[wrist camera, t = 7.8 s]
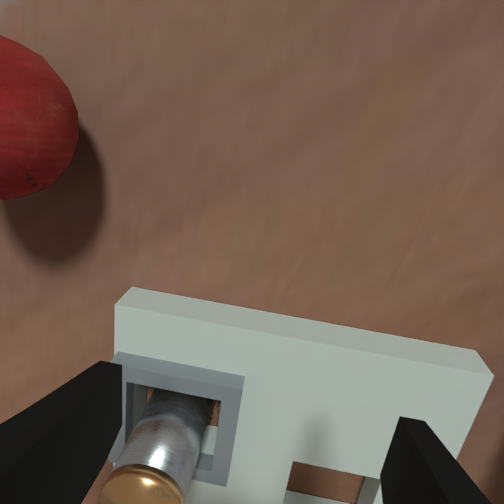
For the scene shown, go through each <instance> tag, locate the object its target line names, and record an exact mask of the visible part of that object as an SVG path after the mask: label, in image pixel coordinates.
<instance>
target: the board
mask: <svg viewBox="0 0 504 504" xmlns="http://www.w3.org/2000/svg"><path fill="white" fill-rule="evenodd" d="M110 363H116V364H121V365H122V427H121V429H120V431H119V433H118V436H117V438H116V440H115V442H114V445H113V447H112V449H111V451H110V453H109V462H113V467H114V466H115V464H116V462H117V460H118V458H119V456H120V454H121V452H122V450H123V448H124V447H125V445H126V443H127V441H128V439H129V437H130V435H131V433H132V431H133V429H134V428H135V426H136V424H137V422H138V420H139V418H140V416H141V414H142V412H143V410H144V409H145V407H146V398H147V386H150V387H155V388H160V389H165V390H170V391H175V392H180V393H185V394H190V395H194V396H199V397H204V398H209V399H214V400H219V401H221V408H220V415H219V422H218V427H216V426H212V425H208V427H207V430H206V433H205V437H204V440H203V443H202V447H201V450H200V453H199V457H198V460H197V464H196V467H195V470H194V474H193V477H192V480H191V484H190V487H189V491H188V494H187V497H186V501H185V504H349V503H344V502H340V501H335V500H331V499H326V498H321V497H317V496H312V495H307V494H303V493H298V492H293V491H289V490H286V487H287V483H288V479H289V475H290V471H291V467H292V462H293V461H296V462H300V463H305V464H310V465H315V466H319V467H324V468H329V469H334V470H339V471H343V472H348V473H353V474H358V475H362V476H366V477H365V480H364V482H363V485H362V488H361V491H360V494H359V497H358V500H357V503H356V504H383V501H382V491H381V482H380V473H381V470H382V467H383V464H384V461H385V458H386V455H387V452H388V449H389V446H390V443H391V440H392V437H393V435H394V432H395V429H396V426H397V423H398V420H399V417H400V416H402V417H407V418H413V419H418V420H423V421H425V422H426V423H427V424H428V425H429V427H430V428H431V429H432V430H433V432H434V433H435V434H436V435H437V437H438V438H439V439H440V440H441V442H442V443H443V444H444V445H445V447H446V448H447V449H448V451H449V452H450V453H451V454H452V456H453V457H454V458H455V459H456V458H457V456H458V454H459V452H460V449H461V447H462V445H463V443H464V441H465V439H466V436H467V434H468V432H469V430H470V428H471V425H472V423H473V421H474V419H475V417H476V414H477V412H478V410H479V408H480V406H481V404H482V401H483V399H484V397H485V395H486V393H487V390H488V388H489V386H490V384H491V382H492V380H493V377H494V375H493V374H492V373H491V371H490V370H489V368H488V367H487V366H486V364H485V363H484V362H483V360H482V359H481V357H480V356H479V355H478V353H477V352H476V351H475V350H471V349H465V348H460V347H455V346H449V345H444V344H438V343H433V342H428V341H422V340H417V339H411V338H406V337H401V336H395V335H390V334H384V333H379V332H374V331H368V330H363V329H357V328H352V327H347V326H341V325H336V324H330V323H325V322H320V321H314V320H309V319H303V318H298V317H293V316H287V315H282V314H276V313H271V312H266V311H260V310H255V309H249V308H244V307H239V306H233V305H228V304H222V303H217V302H212V301H206V300H201V299H195V298H190V297H185V296H179V295H174V294H168V293H163V292H158V291H152V290H147V289H141V288H136V287H131V288H130V289H129V290H128V291H127V292H126V293H125V294H124V295H123V296H122V298H121V299H120V300H119V301H118V302H117V303H116V304H115V338H114V357H113V359H112V360H111V361H110Z"/></svg>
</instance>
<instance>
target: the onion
mask: <svg viewBox="0 0 504 504" xmlns="http://www.w3.org/2000/svg"><path fill="white" fill-rule="evenodd" d="M78 140H79V129H78V111H77V109H76V106H75V104H74V101H73V99H72V96H71V94H70V91H69V89H68V87H67V86H66V84H65V83H64V82H63V80H62V79H61V78H60V77H59V76H58V74H57V73H56V72H55V71H54V70H53V68H52V67H51V66H50V65H49V64H48V62H47V61H46V60H45V59H44V58H43V57H42V56H40V55H39V54H37V53H35V52H33V51H32V50H30V49H28V48H26V47H25V46H23V45H21V44H19V43H18V42H16V41H13V40H11V39H8V38H6V37H3V36H1V35H0V199H2V200H6V199H13V198H19V197H22V196H25V195H28V194H31V193H34V192H37V191H40V190H43V189H46V188H47V187H49V186H50V185H52V184H53V183H55V182H56V181H57V179H58V178H59V177H60V176H61V175H62V173H63V172H64V171H65V170H66V169H67V167H68V166H69V165H70V164H71V162H72V159H73V156H74V152H75V149H76V146H77V143H78Z"/></svg>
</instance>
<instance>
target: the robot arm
mask: <svg viewBox="0 0 504 504" xmlns="http://www.w3.org/2000/svg"><path fill="white" fill-rule="evenodd" d="M121 427H122V365H121V364H116V363H110V362H105V361H99V362H97V363H96V364H94V365H93V366H91V367H89V368H88V369H86V370H85V371H83V372H82V373H80V374H79V375H77V376H76V377H74V378H73V379H71V380H70V381H68V382H67V383H65V384H64V385H62V386H61V387H59V388H58V389H56V390H55V391H53V392H52V393H50V394H48V395H47V396H45V397H44V398H42V399H41V400H39V401H38V402H36V403H34V404H33V405H31V406H30V407H28V408H27V409H25V410H23V411H22V412H20V413H18V414H17V415H15V416H13V417H12V418H10V419H8V420H7V421H5V422H3V423H2V424H0V504H81V503H82V501H83V500H84V498H85V496H86V495H87V493H88V491H89V489H90V488H91V486H92V484H93V483H94V481H95V479H96V478H97V476H98V474H99V472H100V471H101V469H102V467H103V466H104V464H105V462H106V460H107V458H108V455H109V453H110V451H111V449H112V447H113V445H114V442H115V440H116V438H117V436H118V433H119V431H120V429H121ZM380 482H381V491H382V501H383V504H491V503H490V501H489V500H488V499H487V498H486V497H485V495H484V494H483V493H482V492H481V491H480V489H479V488H478V487H477V486H476V484H475V483H474V482H473V481H472V479H471V478H470V477H469V476H468V475H467V473H466V472H465V471H464V469H463V468H462V467H461V466H460V464H459V463H458V462H457V461H456V459H455V458H454V457H453V456H452V454H451V453H450V452H449V451H448V449H447V448H446V447H445V445H444V444H443V443H442V442H441V440H440V439H439V438H438V437H437V435H436V434H435V433H434V432H433V430H432V429H431V428H430V427H429V425H428V424H427V423H426V422H425V421H423V420H418V419H413V418H407V417H402V416H400V417H399V420H398V423H397V426H396V429H395V432H394V435H393V437H392V440H391V443H390V446H389V449H388V452H387V455H386V458H385V461H384V464H383V467H382V470H381V473H380Z"/></svg>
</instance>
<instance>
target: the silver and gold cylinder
mask: <svg viewBox="0 0 504 504" xmlns="http://www.w3.org/2000/svg"><path fill="white" fill-rule="evenodd" d="M214 403H215V400H214V399H209V398H204V397H199V396H194V395H190V394H185V393H180V392H175V391H170V390H165V389H160V388H155V390H154V391H153V393H152V395H151V397H150V399H149V401H148V403H147V405H146V407H145V409H144V410H143V412H142V414H141V416H140V418H139V420H138V422H137V424H136V426H135V428H134V429H133V431H132V433H131V435H130V437H129V439H128V441H127V443H126V445H125V447H124V448H123V450H122V452H121V454H120V456H119V458H118V460H117V462H116V464H115V466H114V467H113V469H112V471H111V473H110V475H109V477H108V479H107V481H106V483H105V485H104V486H103V488H102V490H101V492H100V495H99V504H185V501H186V497H187V494H188V491H189V487H190V484H191V480H192V477H193V474H194V470H195V467H196V464H197V460H198V457H199V453H200V450H201V447H202V443H203V440H204V437H205V433H206V430H207V427H208V423H209V420H210V416H211V413H212V410H213V406H214Z"/></svg>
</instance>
